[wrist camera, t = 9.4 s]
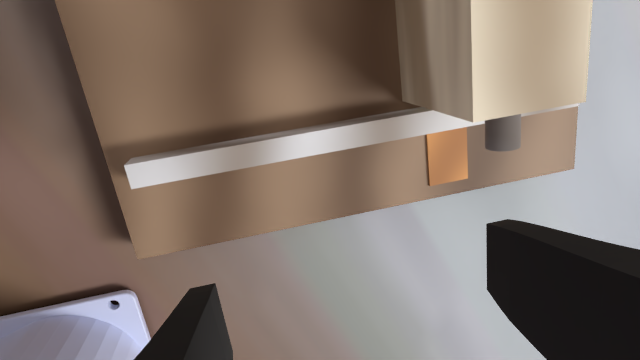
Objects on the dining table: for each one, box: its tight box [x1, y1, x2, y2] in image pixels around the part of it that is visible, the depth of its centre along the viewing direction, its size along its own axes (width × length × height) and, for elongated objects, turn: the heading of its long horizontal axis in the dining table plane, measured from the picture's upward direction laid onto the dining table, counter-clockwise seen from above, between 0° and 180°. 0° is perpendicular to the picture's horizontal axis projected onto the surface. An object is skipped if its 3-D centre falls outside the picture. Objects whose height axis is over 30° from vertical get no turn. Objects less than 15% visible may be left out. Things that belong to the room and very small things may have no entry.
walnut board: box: [55, 0, 579, 259], centre depth 18 cm, size 22×16×3 cm
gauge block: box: [395, 0, 593, 151], centre depth 15 cm, size 4×9×6 cm, turn 8°
